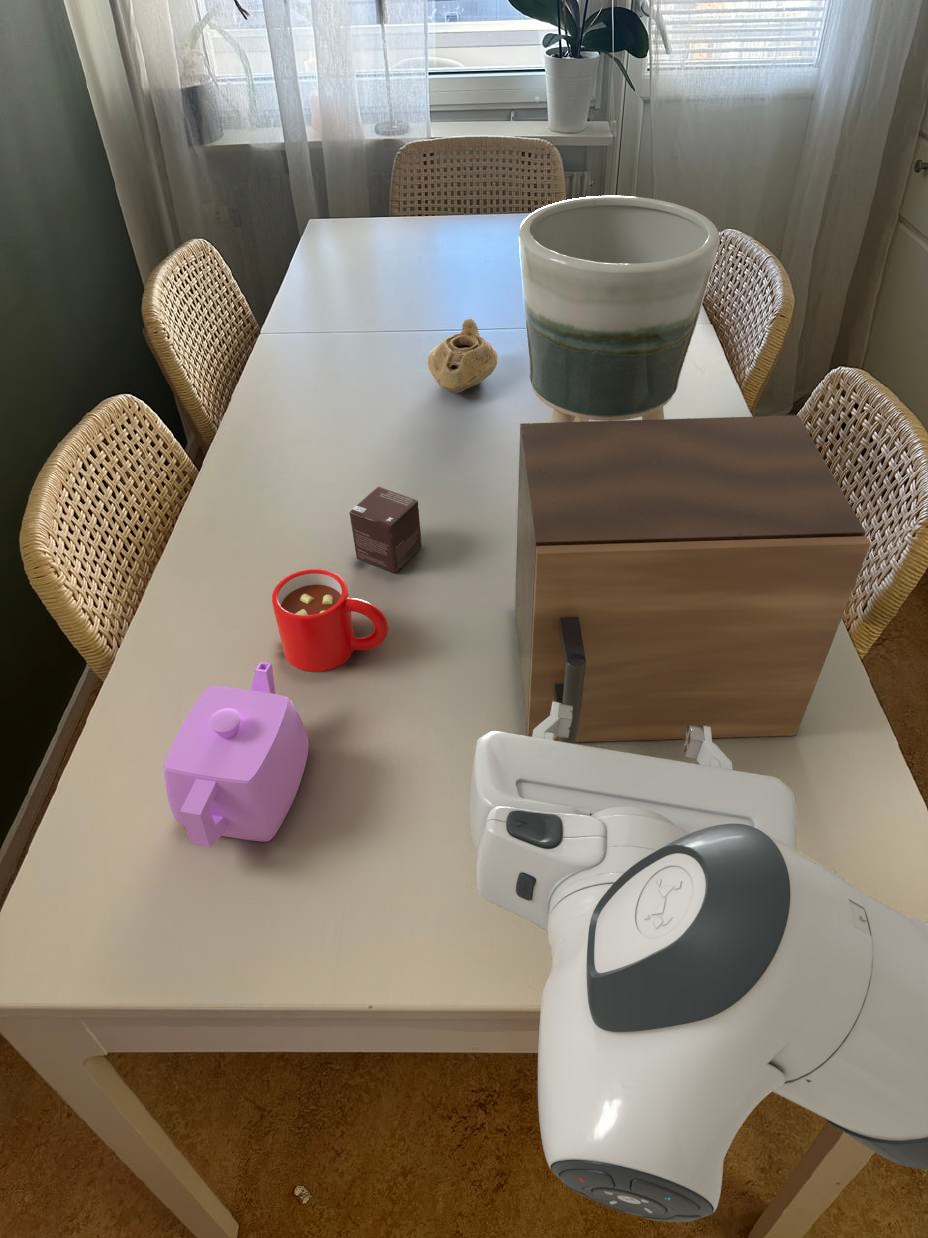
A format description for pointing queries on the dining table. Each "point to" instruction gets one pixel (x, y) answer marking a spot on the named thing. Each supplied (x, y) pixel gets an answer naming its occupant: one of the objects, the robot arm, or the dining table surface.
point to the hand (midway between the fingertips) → (628, 720)
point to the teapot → (236, 762)
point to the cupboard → (667, 490)
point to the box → (386, 529)
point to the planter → (612, 302)
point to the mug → (321, 620)
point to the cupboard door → (686, 634)
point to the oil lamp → (462, 359)
